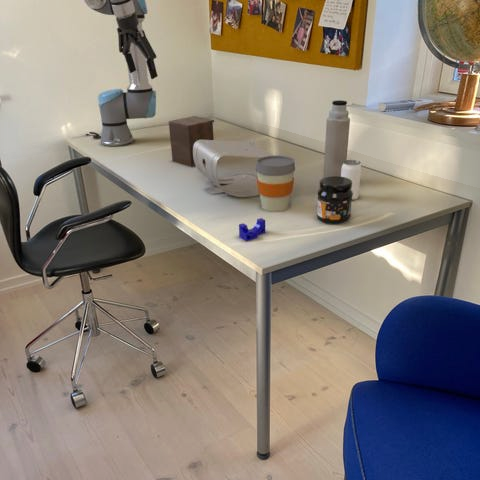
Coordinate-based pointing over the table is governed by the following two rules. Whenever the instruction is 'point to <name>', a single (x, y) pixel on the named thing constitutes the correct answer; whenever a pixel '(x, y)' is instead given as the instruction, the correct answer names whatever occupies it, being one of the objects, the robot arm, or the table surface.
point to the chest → (188, 141)
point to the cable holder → (251, 230)
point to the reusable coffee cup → (275, 181)
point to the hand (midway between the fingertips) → (143, 74)
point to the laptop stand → (218, 149)
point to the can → (352, 175)
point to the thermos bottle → (336, 139)
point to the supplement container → (334, 200)
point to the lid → (191, 121)
